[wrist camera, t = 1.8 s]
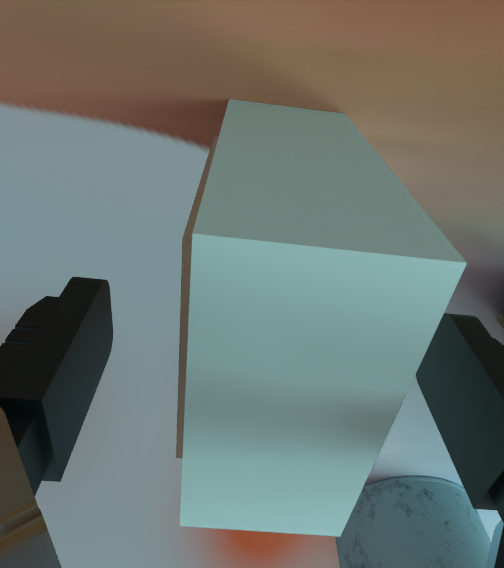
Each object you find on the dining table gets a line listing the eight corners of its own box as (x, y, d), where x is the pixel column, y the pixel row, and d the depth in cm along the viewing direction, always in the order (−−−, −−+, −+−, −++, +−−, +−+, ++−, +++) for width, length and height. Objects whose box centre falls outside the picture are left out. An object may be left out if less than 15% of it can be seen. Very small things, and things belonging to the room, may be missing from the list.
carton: (345, 113, 14) (466, 263, 6) (302, 301, 19) (340, 536, 11) (219, 97, 14) (171, 231, 6) (206, 291, 19) (167, 525, 10)
